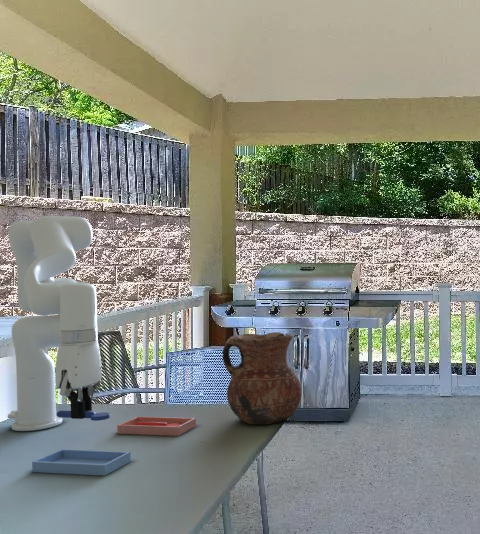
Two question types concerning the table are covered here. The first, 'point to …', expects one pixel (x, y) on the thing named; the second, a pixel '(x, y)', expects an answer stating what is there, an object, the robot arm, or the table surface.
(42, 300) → the robot arm
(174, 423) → the red spoon
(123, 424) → the rose tray
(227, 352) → the jug
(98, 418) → the navy spoon
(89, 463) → the blue tray
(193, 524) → the table surface
